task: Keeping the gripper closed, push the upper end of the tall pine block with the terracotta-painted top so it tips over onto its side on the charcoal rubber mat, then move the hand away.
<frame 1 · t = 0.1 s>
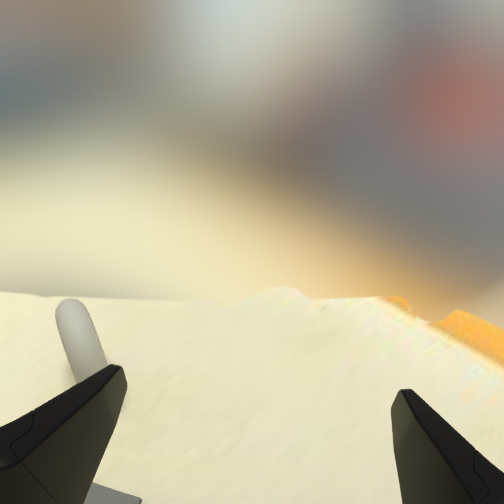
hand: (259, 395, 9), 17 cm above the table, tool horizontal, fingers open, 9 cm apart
donut: (95, 387, 29), on the table
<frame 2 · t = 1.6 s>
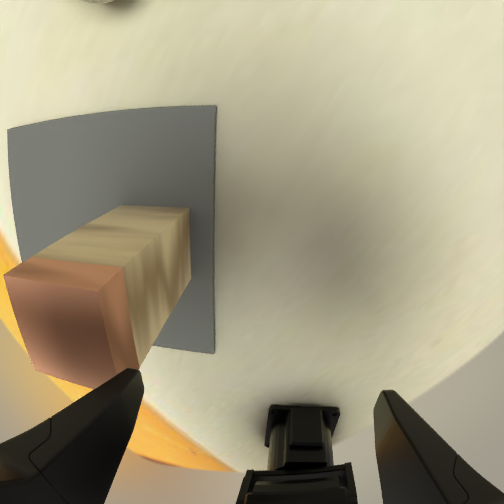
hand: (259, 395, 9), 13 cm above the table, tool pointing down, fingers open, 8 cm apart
rubber mat: (98, 235, 22), on the table
pine block: (155, 241, 22), resting on rubber mat
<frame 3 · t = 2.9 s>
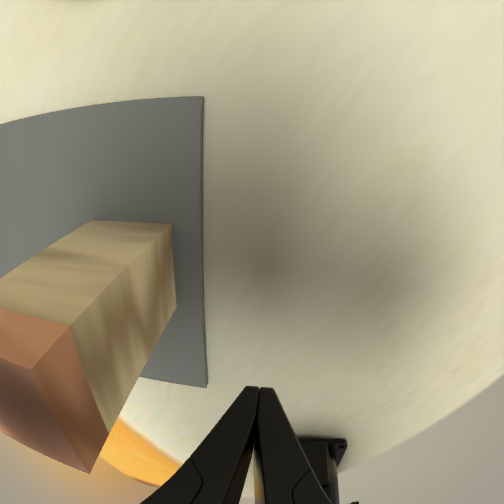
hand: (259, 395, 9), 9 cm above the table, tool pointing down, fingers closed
rubber mat: (70, 254, 19), on the table
pine block: (133, 263, 18), resting on rubber mat
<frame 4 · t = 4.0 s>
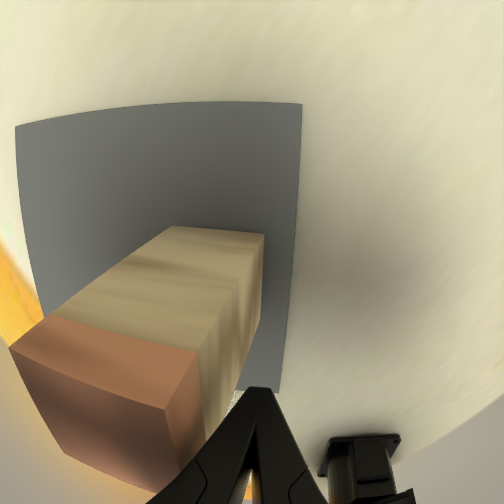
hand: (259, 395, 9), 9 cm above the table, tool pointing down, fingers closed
rubber mat: (138, 261, 19), on the table
pine block: (216, 273, 18), point 1 cm above the table, tilted 6°, touching gripper, rubber mat
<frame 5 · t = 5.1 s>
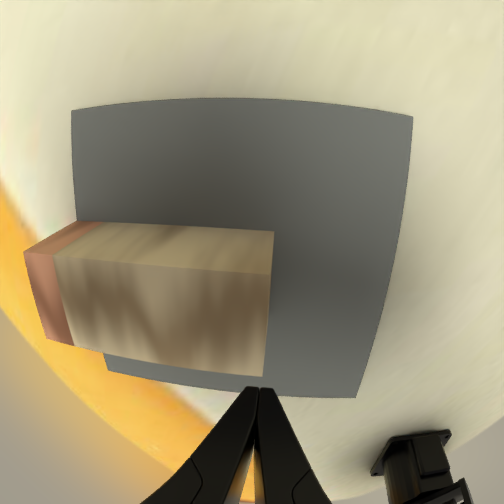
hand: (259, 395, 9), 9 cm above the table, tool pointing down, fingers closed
rubber mat: (226, 269, 18), on the table
pine block: (269, 300, 15), point 3 cm above the table, tilted 90°, touching rubber mat
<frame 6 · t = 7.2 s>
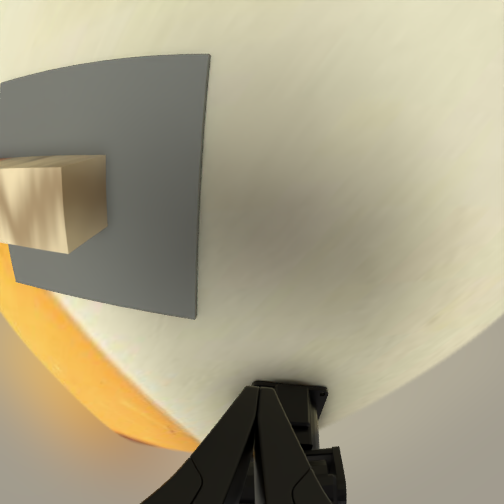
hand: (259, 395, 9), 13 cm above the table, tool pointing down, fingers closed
rubber mat: (81, 188, 21), on the table
pine block: (86, 200, 18), point 3 cm above the table, tilted 90°, touching rubber mat
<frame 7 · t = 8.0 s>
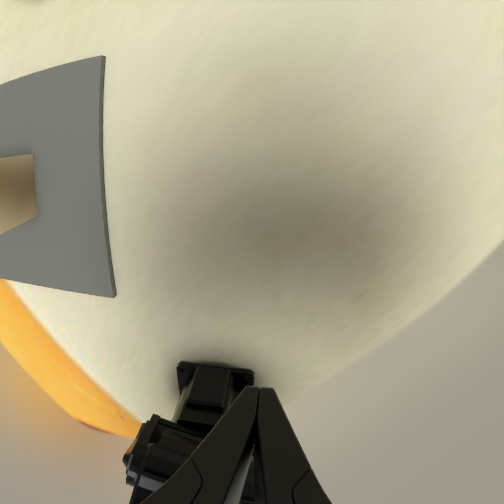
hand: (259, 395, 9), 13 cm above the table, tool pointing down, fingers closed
rubber mat: (19, 184, 21), on the table
pine block: (14, 192, 18), point 3 cm above the table, tilted 90°, touching rubber mat
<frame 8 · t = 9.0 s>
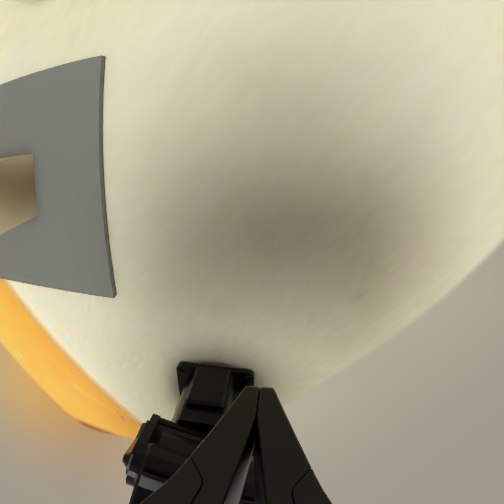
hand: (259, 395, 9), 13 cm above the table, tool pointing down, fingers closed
rubber mat: (19, 184, 21), on the table
pine block: (14, 192, 18), point 3 cm above the table, tilted 90°, touching rubber mat
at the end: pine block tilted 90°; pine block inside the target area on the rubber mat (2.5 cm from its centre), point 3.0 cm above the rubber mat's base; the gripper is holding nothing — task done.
